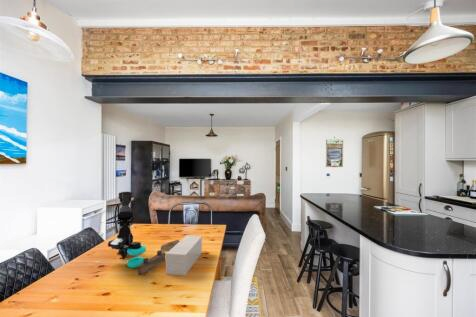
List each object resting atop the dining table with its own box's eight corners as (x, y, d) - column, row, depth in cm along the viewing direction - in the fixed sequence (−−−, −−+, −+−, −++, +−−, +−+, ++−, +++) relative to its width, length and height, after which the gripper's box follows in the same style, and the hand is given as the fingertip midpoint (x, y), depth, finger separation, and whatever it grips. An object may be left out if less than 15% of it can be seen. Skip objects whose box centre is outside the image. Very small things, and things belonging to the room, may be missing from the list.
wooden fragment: (168, 253, 158) (168, 251, 158) (153, 251, 161) (153, 249, 161) (186, 241, 183) (186, 239, 183) (172, 239, 186) (172, 238, 186)
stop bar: (138, 275, 126) (138, 261, 126) (160, 260, 145) (161, 248, 146) (142, 275, 125) (143, 262, 126) (165, 261, 145) (165, 249, 145)
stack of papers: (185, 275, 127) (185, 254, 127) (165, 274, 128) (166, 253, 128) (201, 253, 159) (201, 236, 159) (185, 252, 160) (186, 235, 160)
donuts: (145, 243, 145) (146, 249, 136) (145, 260, 145) (146, 267, 136) (127, 245, 141) (127, 251, 132) (126, 262, 141) (126, 270, 132)
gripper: (100, 234, 136) (99, 262, 136) (127, 237, 131) (127, 267, 130) (115, 229, 147) (115, 255, 147) (141, 232, 141) (141, 259, 141)
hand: (124, 259), depth 141 cm, fingers closed
